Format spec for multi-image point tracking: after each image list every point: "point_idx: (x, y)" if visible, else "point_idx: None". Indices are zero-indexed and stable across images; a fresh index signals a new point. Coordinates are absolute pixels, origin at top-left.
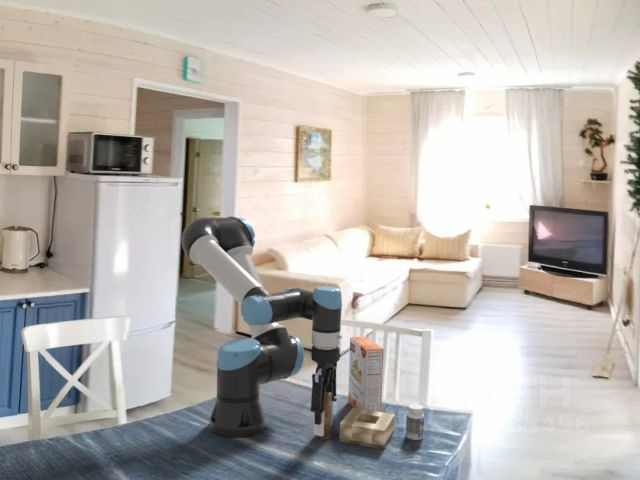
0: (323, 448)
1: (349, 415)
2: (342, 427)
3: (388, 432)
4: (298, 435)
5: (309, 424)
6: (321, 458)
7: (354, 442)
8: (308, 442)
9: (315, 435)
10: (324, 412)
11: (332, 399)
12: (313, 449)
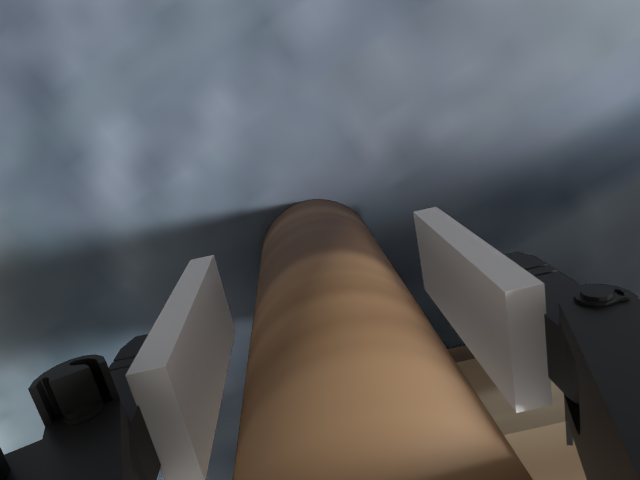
0: None
1: (535, 448)
2: None
3: None
4: (224, 83)
5: (467, 37)
6: (32, 413)
7: None
8: (170, 220)
9: (279, 217)
10: (202, 473)
11: (569, 420)
12: (101, 308)
